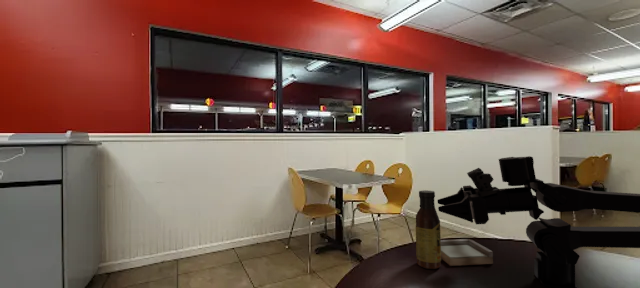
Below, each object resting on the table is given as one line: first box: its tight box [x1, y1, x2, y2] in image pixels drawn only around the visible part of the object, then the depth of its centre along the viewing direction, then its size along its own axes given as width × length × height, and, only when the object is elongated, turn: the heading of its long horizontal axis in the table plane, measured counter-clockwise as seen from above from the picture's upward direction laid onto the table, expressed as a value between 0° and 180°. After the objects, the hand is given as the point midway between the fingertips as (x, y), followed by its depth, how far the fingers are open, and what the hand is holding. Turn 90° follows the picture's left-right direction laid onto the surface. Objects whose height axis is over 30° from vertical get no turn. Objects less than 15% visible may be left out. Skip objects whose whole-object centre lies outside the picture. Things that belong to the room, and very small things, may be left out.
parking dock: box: [441, 238, 494, 267], centre depth 80 cm, size 12×10×3 cm
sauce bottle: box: [415, 189, 442, 270], centre depth 75 cm, size 7×6×20 cm
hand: (438, 205), depth 74 cm, fingers open, 9 cm apart
